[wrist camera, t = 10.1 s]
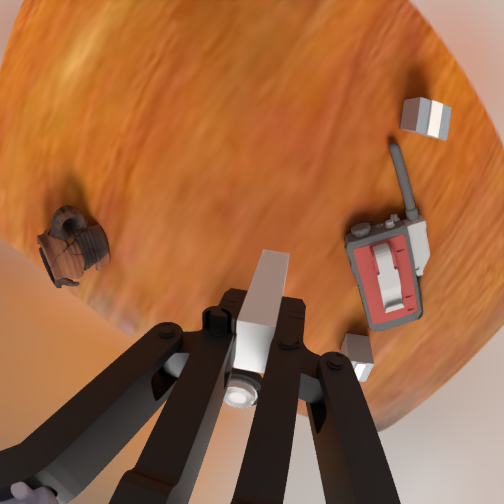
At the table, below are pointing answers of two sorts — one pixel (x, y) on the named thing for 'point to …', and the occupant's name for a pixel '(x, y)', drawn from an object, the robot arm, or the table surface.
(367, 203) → the table surface
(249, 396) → the push button
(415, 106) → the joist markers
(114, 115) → the table surface
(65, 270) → the pottery mug
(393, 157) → the walkie-talkie
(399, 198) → the table surface
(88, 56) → the table surface
